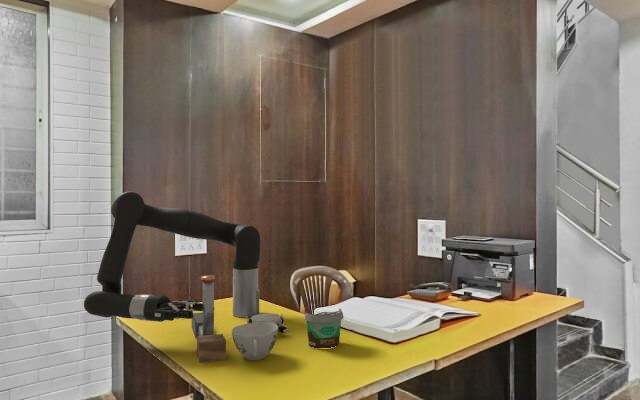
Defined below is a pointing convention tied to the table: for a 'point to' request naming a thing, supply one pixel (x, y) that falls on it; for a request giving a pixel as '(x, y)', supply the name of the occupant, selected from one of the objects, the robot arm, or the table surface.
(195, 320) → the sleeve
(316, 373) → the table surface
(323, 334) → the food container
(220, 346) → the socket
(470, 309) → the table surface
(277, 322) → the robot toy
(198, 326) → the tube
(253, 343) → the teacup
